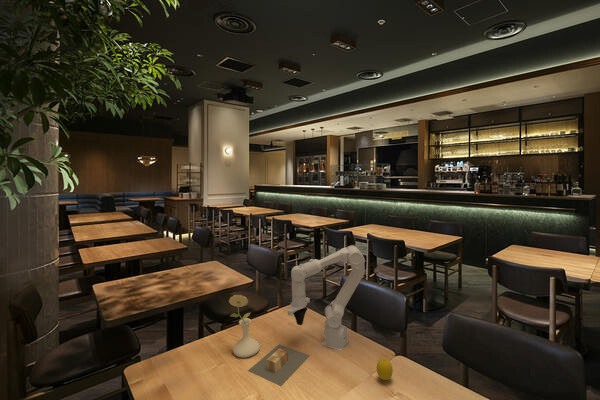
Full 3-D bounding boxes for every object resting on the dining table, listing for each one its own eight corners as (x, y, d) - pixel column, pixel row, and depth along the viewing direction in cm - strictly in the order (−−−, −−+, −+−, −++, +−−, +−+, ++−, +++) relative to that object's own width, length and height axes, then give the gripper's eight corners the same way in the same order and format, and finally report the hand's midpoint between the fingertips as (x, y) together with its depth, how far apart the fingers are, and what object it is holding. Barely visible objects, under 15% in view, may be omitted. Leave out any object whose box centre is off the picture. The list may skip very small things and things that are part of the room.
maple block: (287, 351, 117) (275, 362, 110) (287, 360, 117) (275, 372, 110) (279, 348, 119) (266, 359, 112) (279, 357, 119) (267, 369, 113)
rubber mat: (310, 356, 120) (310, 355, 120) (281, 387, 103) (281, 386, 103) (279, 345, 129) (279, 344, 129) (247, 371, 112) (247, 370, 112)
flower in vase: (264, 346, 128) (261, 291, 126) (252, 362, 118) (248, 302, 115) (238, 341, 133) (235, 288, 130) (224, 357, 122) (220, 299, 119)
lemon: (374, 375, 108) (374, 354, 107) (389, 373, 108) (388, 353, 107) (379, 386, 102) (379, 364, 101) (395, 384, 103) (395, 363, 102)
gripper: (300, 286, 134) (301, 314, 136) (281, 298, 122) (282, 329, 124) (313, 289, 131) (314, 318, 132) (295, 302, 119) (296, 334, 120)
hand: (299, 324), depth 128 cm, fingers closed
